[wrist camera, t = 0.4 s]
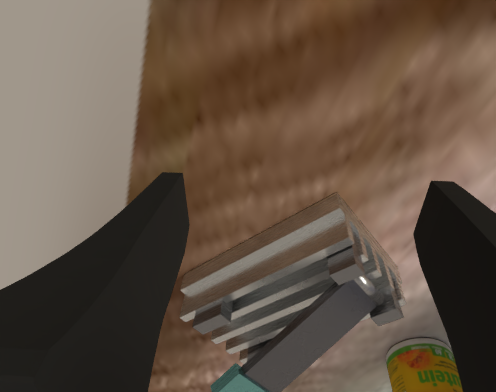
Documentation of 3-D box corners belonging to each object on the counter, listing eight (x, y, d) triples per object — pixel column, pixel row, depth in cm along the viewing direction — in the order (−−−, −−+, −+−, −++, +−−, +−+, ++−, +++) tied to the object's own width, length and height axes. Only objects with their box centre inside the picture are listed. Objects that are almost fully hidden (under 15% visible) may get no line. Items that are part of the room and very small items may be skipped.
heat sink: (336, 192, 24) (347, 248, 20) (396, 266, 28) (415, 326, 24) (184, 274, 29) (170, 330, 26) (250, 327, 33) (247, 383, 29)
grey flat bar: (349, 258, 22) (357, 266, 22) (383, 295, 24) (391, 304, 23) (210, 384, 23) (213, 397, 22) (252, 411, 25) (257, 424, 24)
